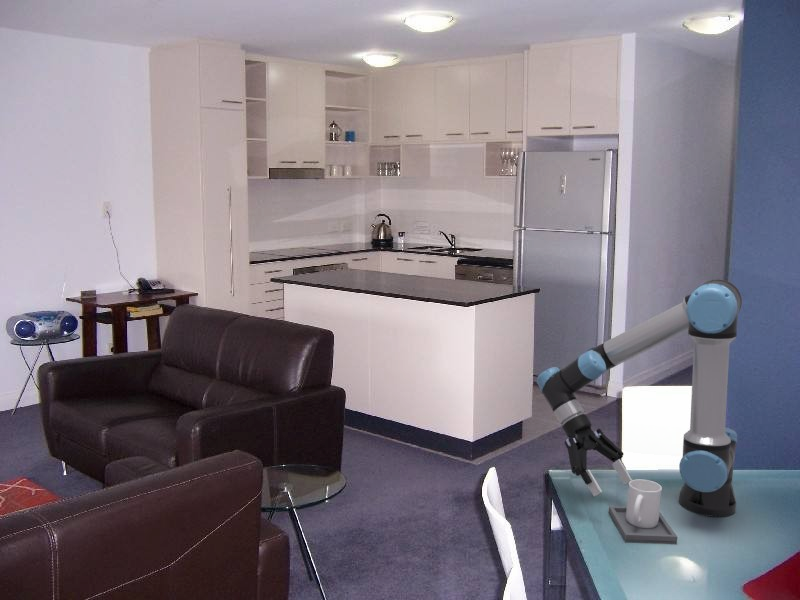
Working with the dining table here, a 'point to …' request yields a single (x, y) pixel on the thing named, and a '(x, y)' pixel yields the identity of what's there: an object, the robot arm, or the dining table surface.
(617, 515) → the tray
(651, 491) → the mug
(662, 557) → the dining table surface
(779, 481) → the dining table surface
